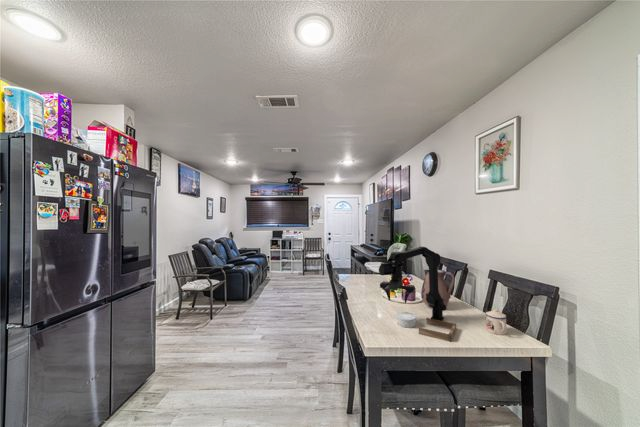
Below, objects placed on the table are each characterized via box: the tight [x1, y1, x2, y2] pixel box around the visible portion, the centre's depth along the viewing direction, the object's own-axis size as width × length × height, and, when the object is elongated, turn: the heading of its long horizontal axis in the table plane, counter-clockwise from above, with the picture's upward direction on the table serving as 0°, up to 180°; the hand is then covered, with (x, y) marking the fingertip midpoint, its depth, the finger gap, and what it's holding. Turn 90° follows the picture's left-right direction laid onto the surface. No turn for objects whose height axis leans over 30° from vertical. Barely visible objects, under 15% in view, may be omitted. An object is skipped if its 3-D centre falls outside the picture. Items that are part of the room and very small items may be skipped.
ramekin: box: [395, 311, 418, 329], centre depth 145 cm, size 11×11×5 cm
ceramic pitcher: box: [420, 269, 456, 309], centre depth 174 cm, size 18×21×25 cm
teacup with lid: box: [485, 308, 507, 336], centre depth 133 cm, size 12×9×12 cm
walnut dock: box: [418, 317, 458, 343], centre depth 135 cm, size 17×15×3 cm
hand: (397, 301), depth 145 cm, fingers open, 9 cm apart
